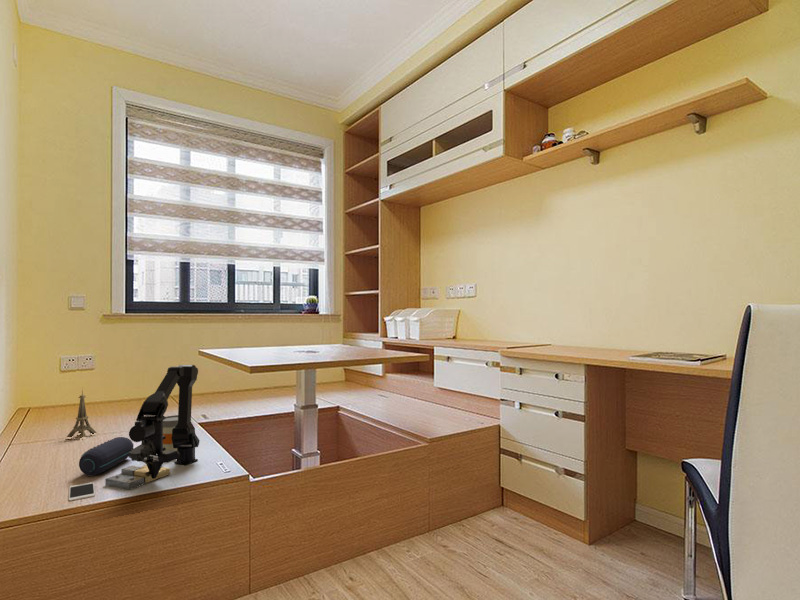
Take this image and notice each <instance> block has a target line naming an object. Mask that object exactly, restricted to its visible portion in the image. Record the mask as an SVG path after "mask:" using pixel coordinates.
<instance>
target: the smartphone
mask: <svg viewBox="0 0 800 600" xmlns="http://www.w3.org/2000/svg"><path fill="white" fill-rule="evenodd" d="M93 497H96V492H95V483H94V482H85V483H81V484H76V485H70V486H69V490H68V502H73V500H74V501H79V500H78V499H80V500H84V498H85V499H88V498H89V499H90V498H93Z"/></svg>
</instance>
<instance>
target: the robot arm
mask: <svg viewBox="0 0 800 600" xmlns="http://www.w3.org/2000/svg"><path fill="white" fill-rule="evenodd" d="M198 374H199V369H198V367H197V366H196V365H195V364H178V365H177V366H170V367H168V368H167V371H166V374H165V376H164V377H163V379H162V380H161V382H160V384H159V386H158V387H157V389H156V390H155V391H154V392H153V393H152V394H150V395H149V396H147V397H146V399H145V400H144V401H143V403H142V405H141V407H140V409H139V411H138V415H137V416H136V418H135V419H136V421H134V425H133V426H132V427H131V428H130V430H129V432H128V437H129V439H130V440H131V441H132V442H134V443H140V442H141V443H140V444H139V445H137V446H136V447H133V449H131V451H130V452H129V457H128V459H129V458H130V459H131V461H133V462H134V461H135V462H142V463H143V464H145V465H147V467H148V469H149V472H150V474H151V477H152V479H154V478H156V477H157V475H158V473H159V471H160V469H161V467H163V465H164V463H165V464H166V463H169V462H172V461H174V460H175V461H174V464H176V465H183V466H186V465H190V464H192V463H195V462H198V461H199V458H198V459H197V458H196V448H198V447H199V445H200V441H201V440H200V439H199V437H198V436H197V434H196V428H195V426H194V424H193V423H192V406H193V405H192V402H193V386H194V384H195V383H196V381H197V379H198ZM176 385H177V386H178V409H177V410H178V411H177V415H178V424H177V425H176V427H175V428H173V429H172V444H173V448H177V451H176V450H168V451H165V450H166V447H163V439H166V436H163V420H164V419H166V416H165V414H166V411H167V410H168V406H169V402H168V399H169V397H170V396H171V394H172V392H173V390H174V389H175V387H176ZM163 451H165V452H163Z"/></svg>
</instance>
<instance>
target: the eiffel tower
mask: <svg viewBox="0 0 800 600" xmlns="http://www.w3.org/2000/svg"><path fill="white" fill-rule="evenodd" d="M83 388H84V387H82V389H81V395H79V396H78V399H79V406H78V411H77V416H76V417H75V420H76V421H75V424H74V426H73V427H72V428H73V429H72V430H70V432H69V433H67V435H66V437H72V436H73V437H74V436H75V434H76V433H77V434H78V433H81V434H80V436H79V438H80V437H81V438H82V437H87V435H86V433H85V431H87V432H88V433H90V434H91V433H92V434H94V433H97V434H98V431H96V430H95V429H94V427H92V426H91V424H90V423H89V420H88V418H89V416H87V409H86V403H85V398H86V395H85V394H83V393H84V392H83Z"/></svg>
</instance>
